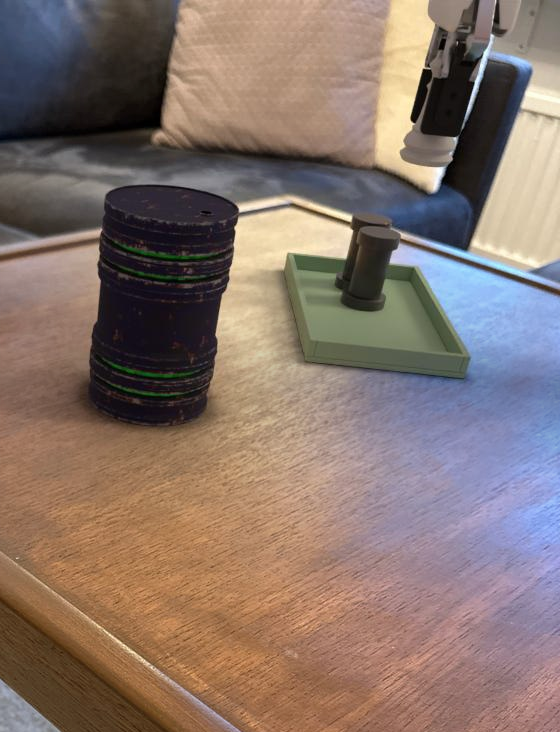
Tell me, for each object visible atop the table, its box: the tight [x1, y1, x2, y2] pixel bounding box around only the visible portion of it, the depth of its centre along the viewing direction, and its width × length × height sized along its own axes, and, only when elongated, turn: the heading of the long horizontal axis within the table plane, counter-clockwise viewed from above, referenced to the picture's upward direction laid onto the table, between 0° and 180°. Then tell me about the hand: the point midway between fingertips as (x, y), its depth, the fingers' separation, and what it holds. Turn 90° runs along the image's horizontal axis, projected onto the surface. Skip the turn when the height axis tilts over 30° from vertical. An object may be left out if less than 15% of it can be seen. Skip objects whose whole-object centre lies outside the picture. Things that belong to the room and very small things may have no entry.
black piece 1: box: [334, 211, 393, 290], centre depth 101 cm, size 4×4×7 cm
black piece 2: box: [340, 226, 402, 312], centre depth 97 cm, size 4×4×7 cm
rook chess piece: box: [399, 50, 456, 168], centre depth 80 cm, size 4×4×8 cm
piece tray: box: [283, 251, 472, 379], centre depth 97 cm, size 14×25×2 cm, turn 175°
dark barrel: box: [87, 183, 240, 427], centre depth 74 cm, size 10×10×15 cm
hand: (434, 127), depth 81 cm, fingers closed on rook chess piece, 3 cm apart
